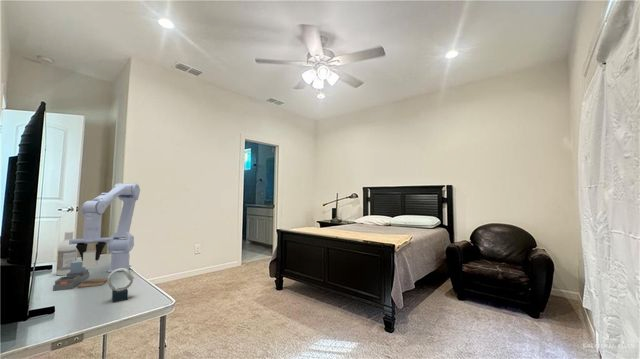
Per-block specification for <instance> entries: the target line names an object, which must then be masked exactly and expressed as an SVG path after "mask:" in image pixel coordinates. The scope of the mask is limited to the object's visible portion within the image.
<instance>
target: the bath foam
mask: <svg viewBox="0 0 640 359" xmlns="http://www.w3.org/2000/svg"><path fill="white" fill-rule="evenodd" d="M71 239H74V231H70V230H69V231H65V232H64V239H63V241H61V243H60V244H59V246H58V248H57V256H56V269H55V270H56V272H55V274H56V276H59V277H66V275H67V273H69V272H70V268H71V262H73V261H77V260H78V253H79V251H78V250H77V248H76V246H77V244H72V245H69V240H71Z"/></svg>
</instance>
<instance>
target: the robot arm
mask: <svg viewBox="0 0 640 359" xmlns="http://www.w3.org/2000/svg"><path fill="white" fill-rule="evenodd" d="M140 192H141V188H140V186H139V184H138V183H120V182H117V183H116V184H114V186H113V187H112V189H111V190H109V191H108V192H101V193H100V194H99V195H98V196H97V197H94V198H93V199H91V200H87V201H85V202H84V203H82V206H81V207H80V211H81V212H82V217H83V219H84V220H83V221H84V222H83V232H82V233H83V237H82V238H73V239H71V240H69V245H72V244H77V246H76V248H77V250H78V253H79V255H80V260H82V261H83V253H84V252H86V251H88V250H87V249H88V244H95V250H96V258H95V259H96V260H98V261H99V260H100V257H101V254H102V252H103V251H104V250H103V249H104V248H105V247H106V248H107V251H109V253H110V254H111V255H110V268H109V269H108V270H107V273H111V272H112V271H114V270H116V269H119V268H125V269H126V268H127V269H128V270H129V269H130V268H131V267H132V265H130V257H131V256H130V252H131V251H132V250H133V248H134V246H135V236H134V235H133V234H132V233H130V230H131V224H132V222H133V220H132V219H133V216H134V210H135V207H136V202H137V201H138V200H139V198H140ZM116 198H118V199H119V200H120V201H122V202H123V203H122V208H121V213H120V218H119V221H118V225H117V230H116V232H115V233H113V234H112V235H111V236H110V237H101V234H102V233H101V232H102V217H103V214H104V213H105V211H106V210H107V207H108V206H110V205H111V204H113V203H114V200H115V199H116ZM118 272H124V271H123V270H120V271H117V272H116V273H118Z"/></svg>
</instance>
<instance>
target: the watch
mask: <svg viewBox="0 0 640 359" xmlns="http://www.w3.org/2000/svg"><path fill="white" fill-rule="evenodd" d="M120 270H123V271H122V272H123V273H124V275H125V277H126V278H127V279H128V280H129V281H130V282H129V284H127V285H126V286H125V287H118V288H115V286H114V285H113V284H112V283H111V279H110V278H111V276H112V275H113V274H115V273H118V272H121V271H120ZM117 271H118V272H117ZM107 278H108V280H107V281H106V282H107V285H108V287H109V288H110V290H111V301H112V303H113V304H114V303H119V302H122V301H124V302H125V301H127V300H128V297H129V296H128V295H129V290H128V289H129V288H130V287H131V286H132V284H133V282H134V279H135V277H134V276H133V274H132V273H131V271H130V270H129V269H127V268H126V269H125V268H119V269H116V270H114V271H112V272H109V274H108V276H107Z"/></svg>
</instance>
